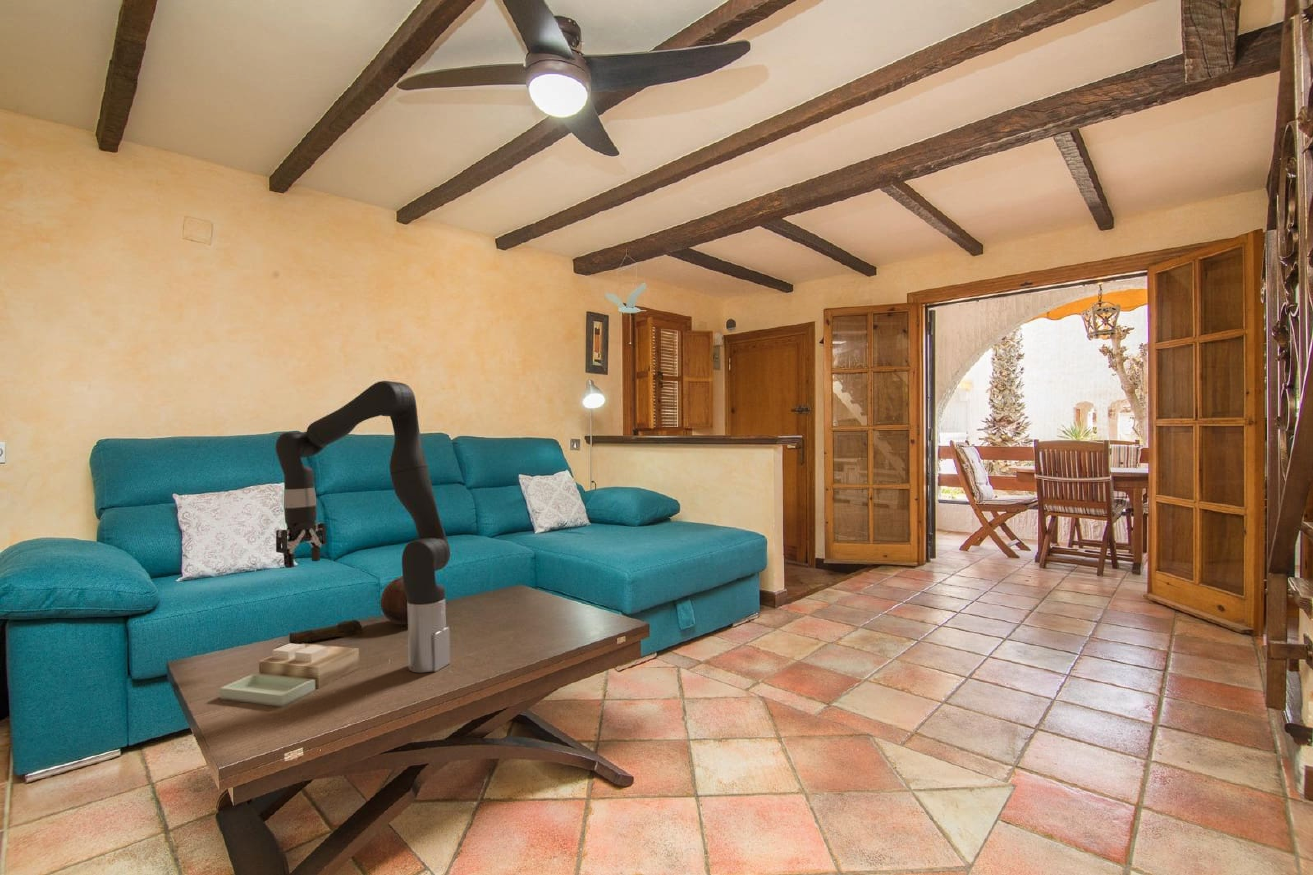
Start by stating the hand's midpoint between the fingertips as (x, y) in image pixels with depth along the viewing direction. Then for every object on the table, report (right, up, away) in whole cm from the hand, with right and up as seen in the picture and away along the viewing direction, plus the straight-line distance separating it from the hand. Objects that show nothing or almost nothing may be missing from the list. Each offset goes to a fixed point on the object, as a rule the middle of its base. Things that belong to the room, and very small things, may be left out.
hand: (303, 564), depth 165 cm
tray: (+6, -25, -24) cm, 36 cm away
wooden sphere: (+17, -25, +28) cm, 41 cm away
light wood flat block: (+9, -25, -13) cm, 30 cm away
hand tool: (-2, -26, +15) cm, 30 cm away
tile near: (+11, -20, -15) cm, 27 cm away
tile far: (+4, -20, -13) cm, 24 cm away
